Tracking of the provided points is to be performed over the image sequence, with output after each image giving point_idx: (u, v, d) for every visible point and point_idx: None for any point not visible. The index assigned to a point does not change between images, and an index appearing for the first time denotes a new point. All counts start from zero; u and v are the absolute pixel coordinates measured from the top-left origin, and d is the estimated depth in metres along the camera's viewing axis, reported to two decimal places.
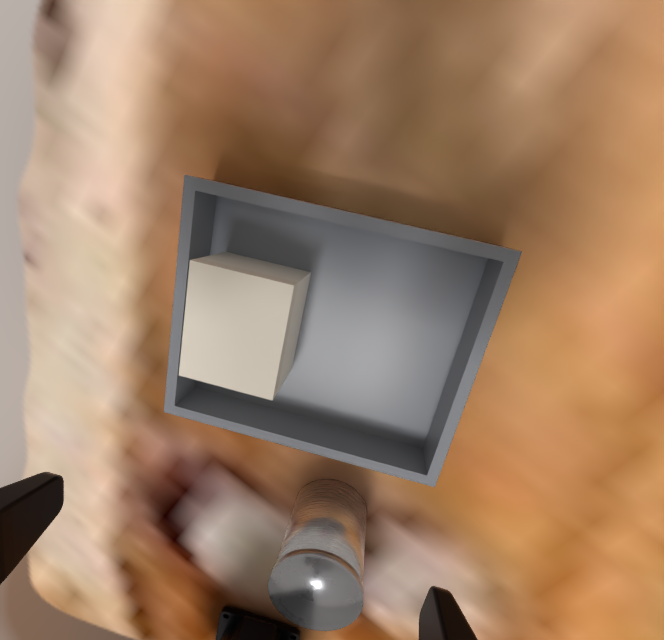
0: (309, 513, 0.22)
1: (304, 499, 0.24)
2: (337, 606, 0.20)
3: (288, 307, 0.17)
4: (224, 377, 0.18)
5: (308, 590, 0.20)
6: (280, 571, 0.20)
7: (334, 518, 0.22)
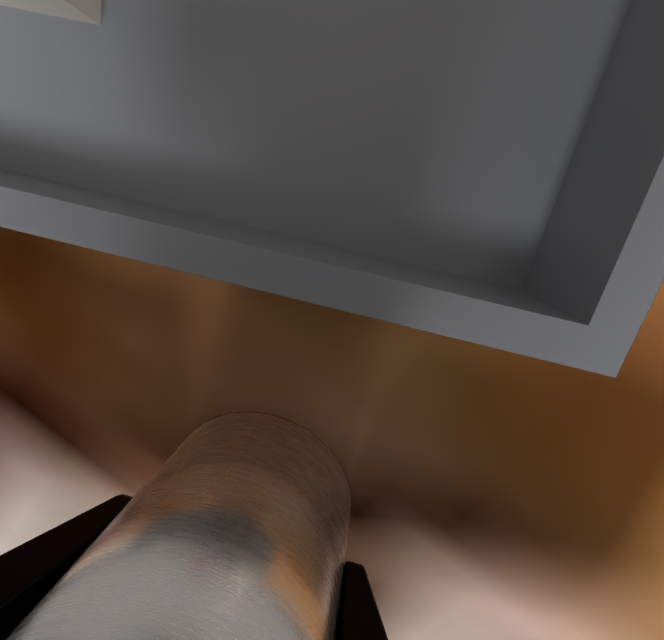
0: (155, 497, 0.07)
1: (169, 461, 0.08)
2: None
3: None
4: None
5: None
6: None
7: (231, 512, 0.06)
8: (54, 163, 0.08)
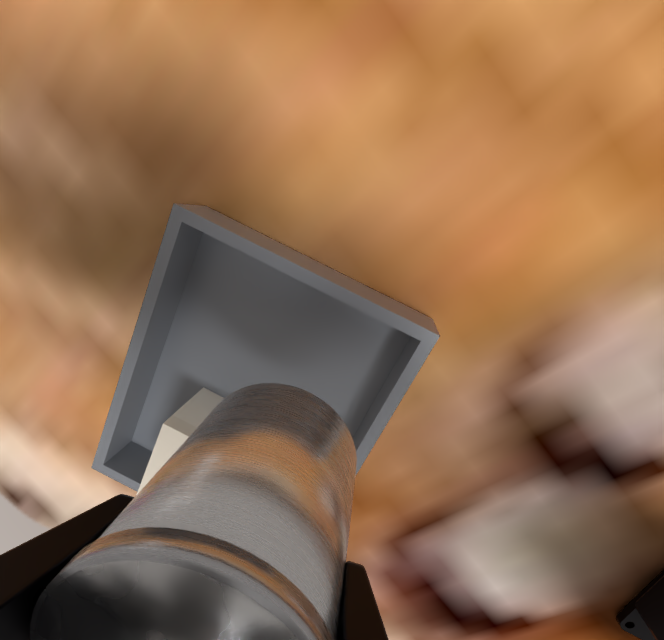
0: (201, 442, 0.08)
1: (206, 420, 0.10)
2: None
3: (182, 434, 0.18)
4: None
5: None
6: (56, 604, 0.06)
7: (264, 450, 0.08)
8: None
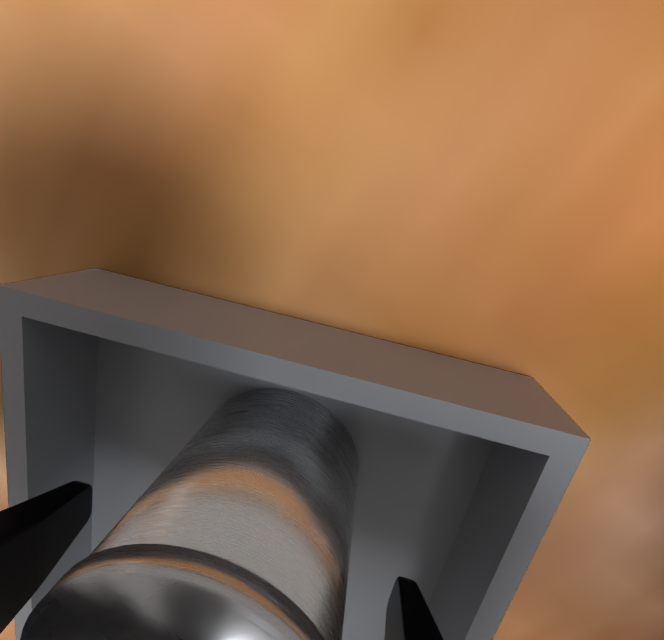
0: (199, 450, 0.08)
1: (204, 427, 0.10)
2: None
3: None
4: None
5: None
6: (47, 624, 0.06)
7: (264, 460, 0.08)
8: None
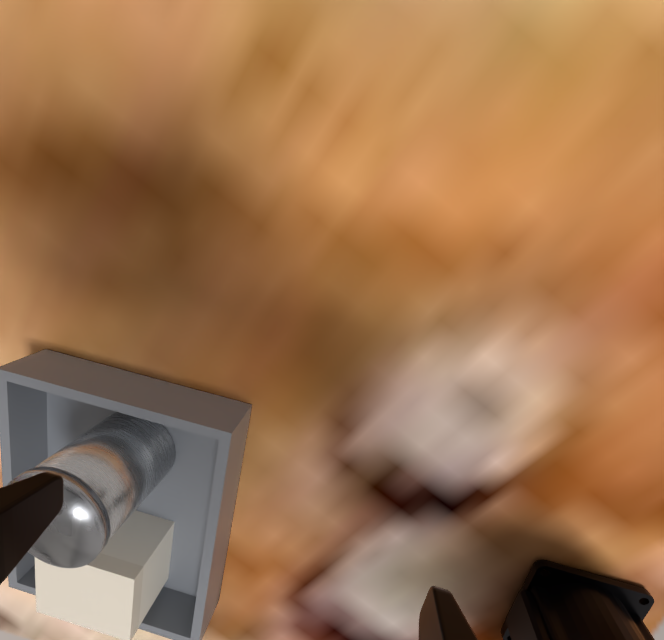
0: (78, 438, 0.19)
1: (91, 429, 0.21)
2: (77, 536, 0.17)
3: None
4: (122, 610, 0.21)
5: None
6: None
7: (102, 441, 0.19)
8: None
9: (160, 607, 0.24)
